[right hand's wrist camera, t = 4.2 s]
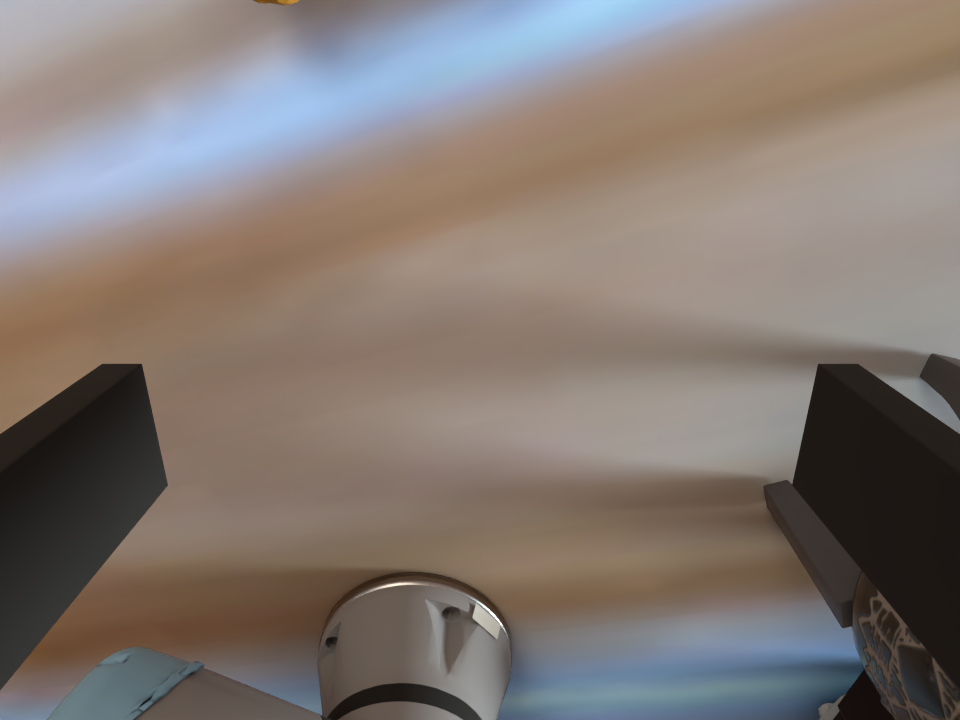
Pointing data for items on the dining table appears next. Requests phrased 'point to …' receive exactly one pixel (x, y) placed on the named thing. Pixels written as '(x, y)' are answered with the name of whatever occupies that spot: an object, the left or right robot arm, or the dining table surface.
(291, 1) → the toy
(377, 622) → the right robot arm
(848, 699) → the mechanical component
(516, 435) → the dining table surface
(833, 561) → the planter
